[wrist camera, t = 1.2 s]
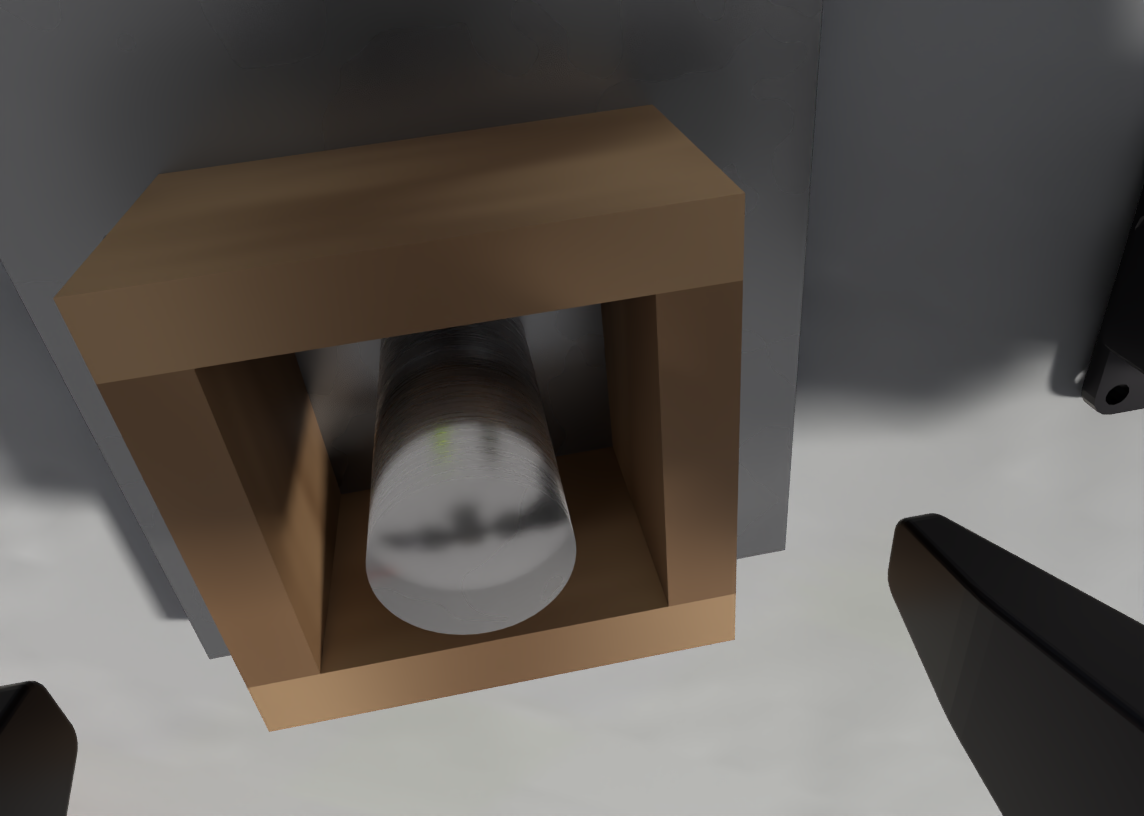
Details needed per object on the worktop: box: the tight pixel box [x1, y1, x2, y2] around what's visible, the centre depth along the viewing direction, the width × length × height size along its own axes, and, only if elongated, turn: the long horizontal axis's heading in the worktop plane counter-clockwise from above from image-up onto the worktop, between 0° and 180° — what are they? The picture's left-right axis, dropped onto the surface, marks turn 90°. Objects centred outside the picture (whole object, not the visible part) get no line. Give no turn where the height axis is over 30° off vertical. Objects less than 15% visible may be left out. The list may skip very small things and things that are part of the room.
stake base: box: [0, 0, 823, 659], centre depth 12 cm, size 12×12×6 cm
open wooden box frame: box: [53, 105, 745, 732], centre depth 12 cm, size 7×7×4 cm
